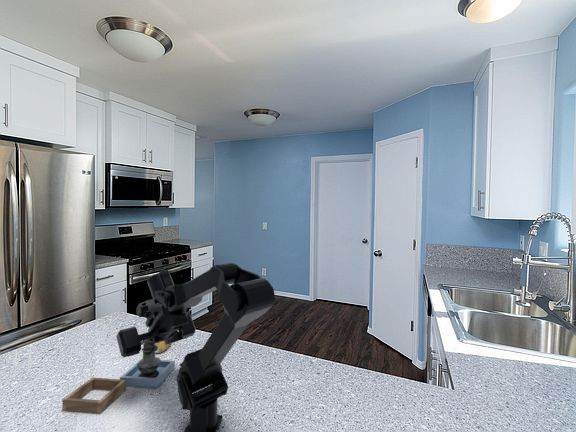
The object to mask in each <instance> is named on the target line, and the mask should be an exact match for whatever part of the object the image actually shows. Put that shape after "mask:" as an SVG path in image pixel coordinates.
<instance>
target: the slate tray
mask: <svg viewBox="0 0 576 432" xmlns="http://www.w3.org/2000/svg"><path fill="white" fill-rule="evenodd" d="M140 360H142V358H141V359H140ZM160 360H161V361H160V363H159V366H158V368H157V369H156V370H157V371H159V375H158V376H157V377H156V378H147V377H138V376H139V374H140V373H141V372H140V371H139V369H138V366H137V363H138V362H139V361H137V362H136V363H135V364H134V365H133V366H131V367H130V368H129V369H128V370H127V371H126V372H125V373H123V374H122V375H120V377H119V379H121V380H126V387H130V386H135V388H144V387H145V389H158V388H159V386H160V385H161V384H162V383H164V381H165V380H166V378H168V376H170V374H171V373H172V372H173V371H174V369H175V368H176V366H175V365H176V363H175V362H176V361H175V360H168V359H167V360H166V359H160Z"/></svg>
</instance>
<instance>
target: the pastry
mask: <svg viewBox="0 0 576 432" xmlns="http://www.w3.org/2000/svg"><path fill="white" fill-rule="evenodd" d="M171 345H172V343H170V344H167V345H166V344H165V341H162V342H158V343H155V346H156V349H155V354H162V353H164V352H166V351H167V350H168V349H169V348H170V347H171Z"/></svg>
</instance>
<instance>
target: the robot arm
mask: <svg viewBox="0 0 576 432" xmlns="http://www.w3.org/2000/svg"><path fill="white" fill-rule="evenodd" d="M146 282H147V285H148V289H149V291H150V293H151V297H152V299H146V300H145V301H142V302H140V303H138V304H137V306H136V310H135V313H136V314H137V316H138V318H145V319H146V321H145V322H144V323H145V326H146V328H148V331H147V332H144V333H141V334H139V333H138V332H139V331H138V328H137V327H136V326H131V327H127V328H123V329H119V331H118V332H117V334H116V340H117V345H118V349H119V353H120V356H121V357H123V358H127V357H133V356H136V355H139V354H140V352H141V351H142V345H143V344H146V343H149V342H152V341H153V342H154V344H155V343H158V342H162V341H165V344H166V345H167V344H170V343H171V344H173V343H176V342H179V341H182V340H186V339H188V338H191V337H192V336H194V335H195V333H196V326H195V323H194V321H193V318H192V315H191V314H190V313H188V312H187V309H190V308H193V307H196V306H198V305H199V304H200V303H201V302H202V301H203V297H204V296H206V295H209V294H211V293H213V292H215V291H216V293H217V300H218V301H219V302H220V303H221V304H222V307H223V310H224V313H223V315H222V316H221V318H220V319H219V322H218V323H217V325H216V326H215V327H214V329H213V331H212V333H211V334H210V335H209V337H208V339H207V340H206V342H205V343H204V345H203V347H202V348H201V349H198V350H194V351H192V352H189V353H187V354H186V355H185V356H184V358H183V360H182V362H181V363H179V366H180V367H179V370H178V374H177V376H176V377H177V378H176V384H177V390H178V398H179V403H181V409H182V410H183V411H184V410H185V411H189V422H188V423H187V426H186V427H185V428H184V431H183V432H218V429H219V427H220V425H221V423H222V420H223V417H224V416H223V415H221V414H218V406H219V405H218V403H219V402H218V401H219V400H218V399H219V398H220V397H223V396H225V395H227V393H228V390H229V386H228V383H227V380H226V379H225V376H224V373H223V367H222V365H221V363H223V360H225V358H226V356H227V355H228V354H229V352H231V351H230V350H232V348H233V346H234V345H235V344H236V343H237V341H238V339H240V337H241V335H242V334H243V332H244V331H245V330H246V328H247V327H248V325H249V324H250V323H252V322H254V321H255V320H257V319H258V318H260V317H262V316H264V315H265V313H267V312H268V311H270V309H271V308H273V306H274V304H275V301H276V298H275V290H274V287H273V285H272V284H271V282H270V281H268V280H267V279H265V278H263V277H261V276H260V275H259V274H257V273H254V272H252V271H249V270H246V269H244V268H242V267H241V266H239V265H238V264H236V263H233V262H227V263H220V264H215V265H213V266H211V267H210V268H209V270H207V271H205V272H203V273H201V274H199V275H197V276H196V277H194V278H192V279H191V280H189V281H187V282H185V283H180V284H179V283H178V284H175V283H174V280H173V278H172V276H171V274H170V272H169V270H168V269H164V270H160V271H159V272H158V273H156V274H154V275H152V276H151V277H149V278H148V279H147V281H146ZM229 284H231V285H229ZM147 339H148V340H147Z"/></svg>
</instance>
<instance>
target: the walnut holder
mask: <svg viewBox="0 0 576 432" xmlns="http://www.w3.org/2000/svg"><path fill="white" fill-rule="evenodd" d="M98 389H99V390H101V391H109V392H107V393H106V394H105V395H104V396H103V397H101V398H100V400H99V399H87V398H84V397H85V396H86V395H87V394H89V393H90V392H91V391H92V390H98ZM126 390H127V386H126V380H121V379H120V378H118V379H116V378H106V377H105V378H104V377H91V378H90V379H88V380H87V381H85V382H84V383H83V384H82V385H80V386H79V387H78V388H76V389H75V390H73V391H72V392H71V393H69V394H68V395H66V396H65V397H64V398H63V399H62V401H61V402H62V404H61V405H62V412H63V411H64V412H77V413H87V414H99V415H101V414H102V413H103V412H104V411H105V410H106V409H107V408H109V406H110V405H111V404H112V403H114V402H115V400H117V399H118V398H119V397H120V396H121V395H122V394H123V393H124V392H126Z"/></svg>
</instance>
